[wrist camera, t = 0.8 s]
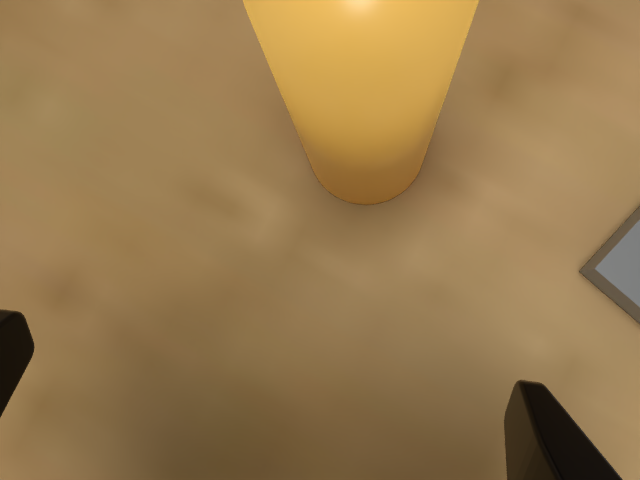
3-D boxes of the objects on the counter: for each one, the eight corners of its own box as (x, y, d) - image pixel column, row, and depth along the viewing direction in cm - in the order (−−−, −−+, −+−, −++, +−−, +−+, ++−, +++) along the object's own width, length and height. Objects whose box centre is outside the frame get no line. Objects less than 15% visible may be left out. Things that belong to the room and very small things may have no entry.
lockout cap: (432, 196, 22) (506, 59, 10) (315, 211, 23) (250, 96, 11) (416, 85, 23) (467, -170, 11) (303, 101, 24) (228, -127, 11)
